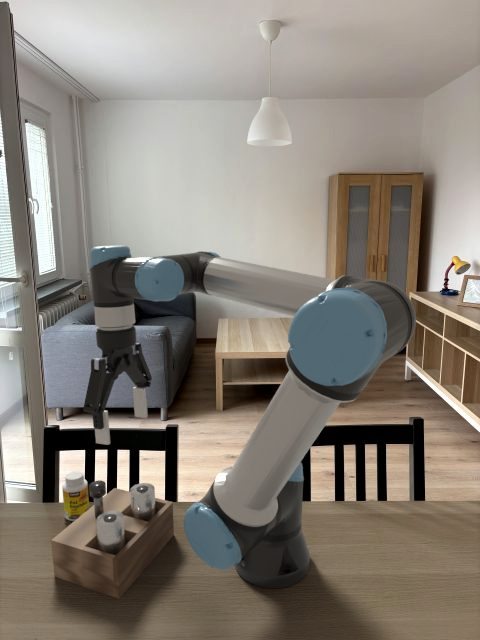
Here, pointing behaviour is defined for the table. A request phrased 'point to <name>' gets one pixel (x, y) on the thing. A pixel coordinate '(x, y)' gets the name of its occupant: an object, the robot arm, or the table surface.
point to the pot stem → (98, 496)
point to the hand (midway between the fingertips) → (123, 429)
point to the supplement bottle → (75, 495)
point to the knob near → (111, 532)
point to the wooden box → (103, 568)
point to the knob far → (143, 501)
